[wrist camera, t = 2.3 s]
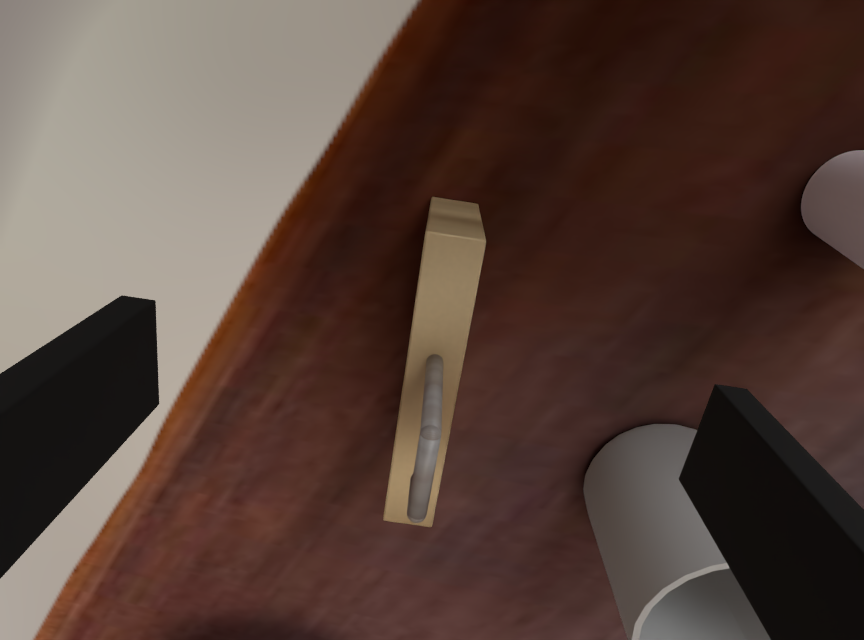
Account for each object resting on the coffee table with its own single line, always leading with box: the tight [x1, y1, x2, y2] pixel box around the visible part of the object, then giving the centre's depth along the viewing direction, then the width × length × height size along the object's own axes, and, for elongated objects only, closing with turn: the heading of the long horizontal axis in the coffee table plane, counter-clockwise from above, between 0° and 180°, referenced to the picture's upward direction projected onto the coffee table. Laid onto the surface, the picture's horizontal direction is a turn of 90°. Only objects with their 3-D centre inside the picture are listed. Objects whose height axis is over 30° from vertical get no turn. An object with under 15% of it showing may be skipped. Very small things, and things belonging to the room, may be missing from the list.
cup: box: [583, 424, 771, 640], centre depth 25 cm, size 7×10×9 cm
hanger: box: [383, 197, 486, 527], centre depth 21 cm, size 12×2×11 cm, turn 172°
